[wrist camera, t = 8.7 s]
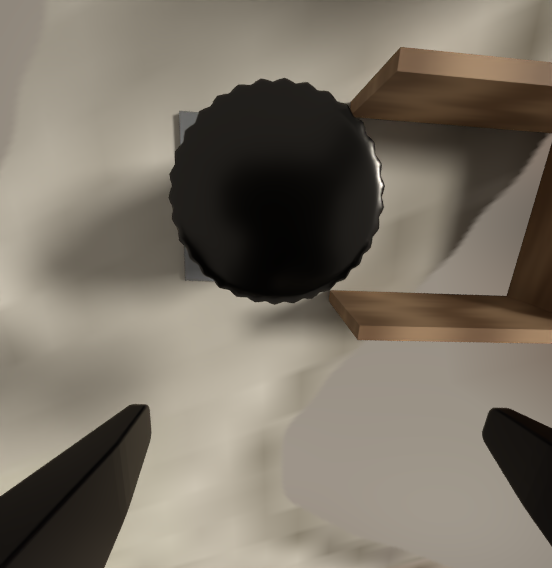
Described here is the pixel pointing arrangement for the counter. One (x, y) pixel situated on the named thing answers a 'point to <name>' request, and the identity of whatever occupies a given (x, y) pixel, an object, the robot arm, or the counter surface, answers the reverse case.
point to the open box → (543, 220)
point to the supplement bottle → (276, 191)
